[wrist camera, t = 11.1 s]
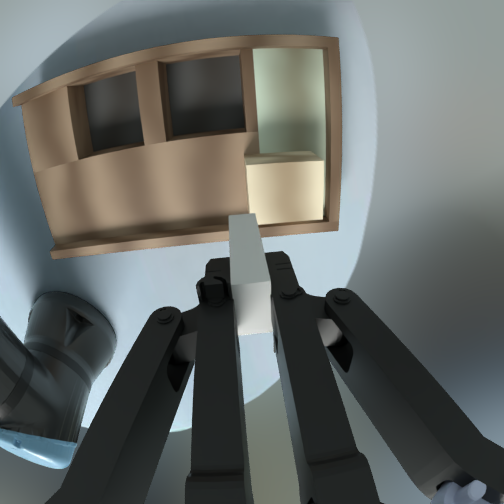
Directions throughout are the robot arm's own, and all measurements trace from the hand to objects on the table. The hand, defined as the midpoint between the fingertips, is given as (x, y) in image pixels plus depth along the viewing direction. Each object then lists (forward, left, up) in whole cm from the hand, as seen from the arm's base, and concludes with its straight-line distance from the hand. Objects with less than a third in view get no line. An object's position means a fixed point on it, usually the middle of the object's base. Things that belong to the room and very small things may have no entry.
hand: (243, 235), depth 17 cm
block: (+4, 0, -11) cm, 11 cm away
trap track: (-6, +4, -15) cm, 16 cm away
